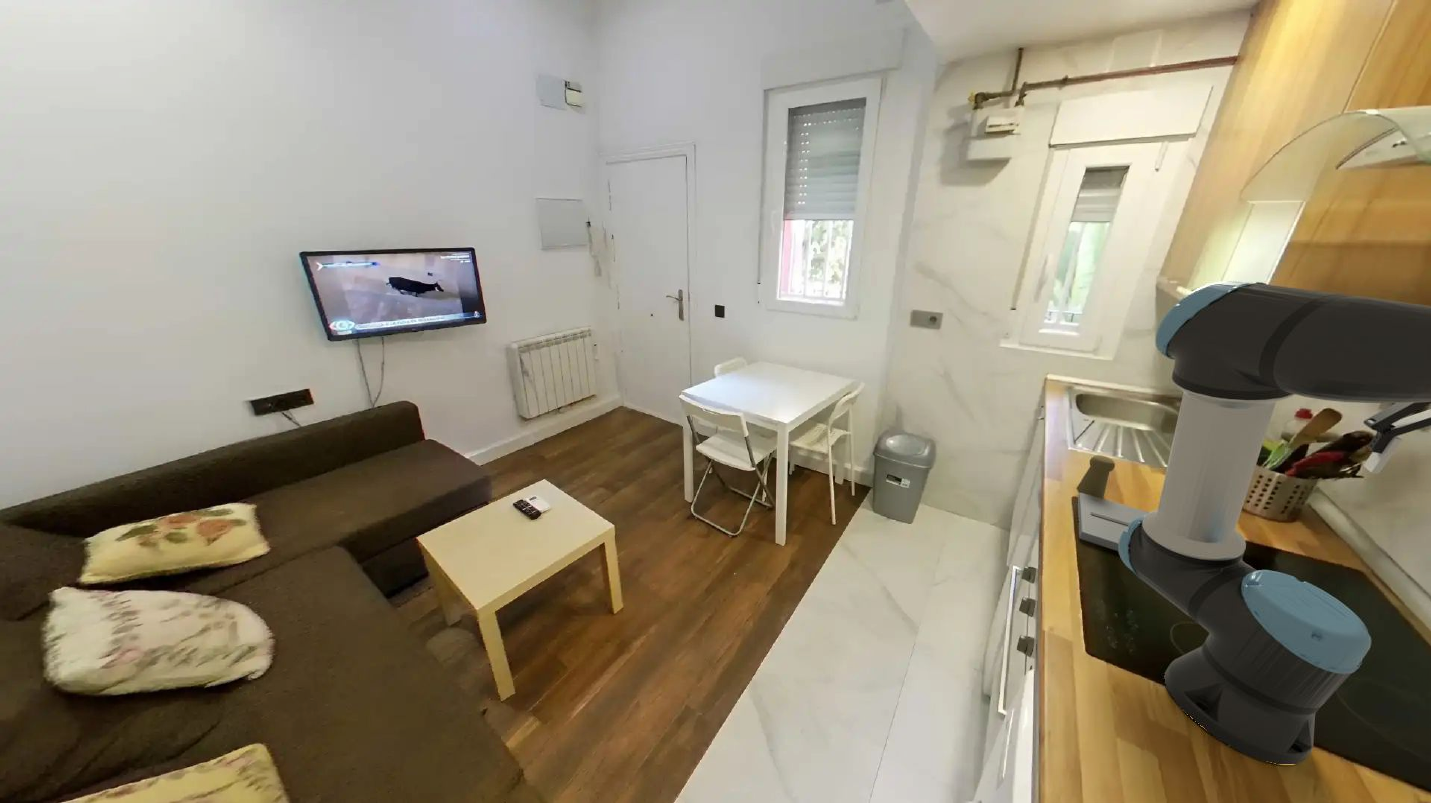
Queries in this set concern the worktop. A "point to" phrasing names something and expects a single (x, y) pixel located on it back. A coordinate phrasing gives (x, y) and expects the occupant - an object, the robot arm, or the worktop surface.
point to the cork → (1096, 476)
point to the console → (1104, 520)
